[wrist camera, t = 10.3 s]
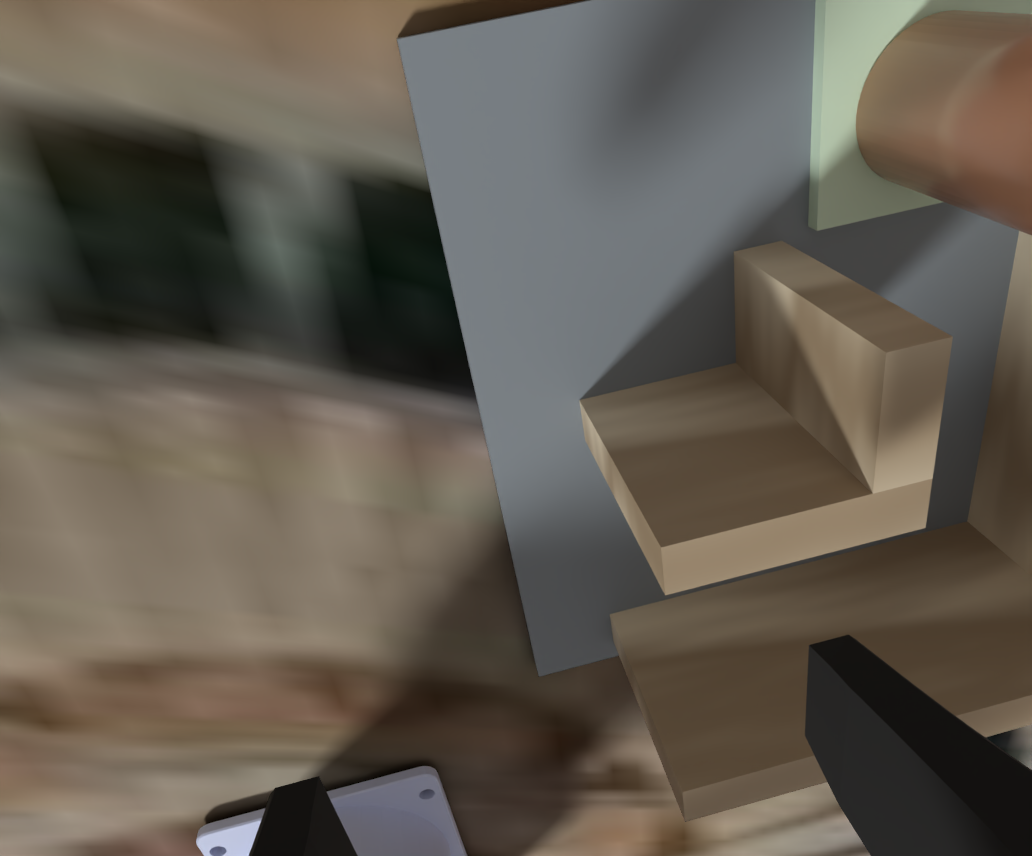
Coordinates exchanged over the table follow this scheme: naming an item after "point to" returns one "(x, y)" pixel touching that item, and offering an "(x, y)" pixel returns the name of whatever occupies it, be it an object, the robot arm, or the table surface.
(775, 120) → the board
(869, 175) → the pad
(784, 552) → the tan piece
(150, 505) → the table surface
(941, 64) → the peg
